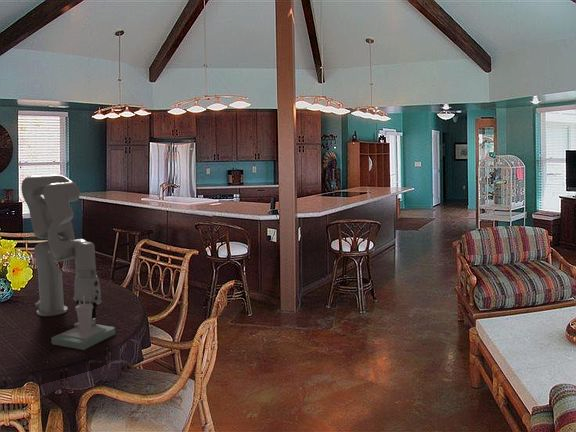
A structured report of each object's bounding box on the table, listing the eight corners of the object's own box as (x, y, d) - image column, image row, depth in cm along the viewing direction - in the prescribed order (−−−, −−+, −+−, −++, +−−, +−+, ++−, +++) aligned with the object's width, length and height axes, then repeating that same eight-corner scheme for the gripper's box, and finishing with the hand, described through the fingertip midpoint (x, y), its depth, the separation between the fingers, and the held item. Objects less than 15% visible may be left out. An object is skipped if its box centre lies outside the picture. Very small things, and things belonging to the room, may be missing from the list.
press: (38, 341, 200) (37, 333, 200) (79, 323, 219) (78, 316, 219) (83, 349, 192) (83, 342, 192) (121, 330, 212) (121, 323, 211)
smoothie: (76, 334, 199) (74, 298, 197) (76, 328, 205) (74, 293, 203) (95, 332, 202) (93, 296, 200) (93, 326, 208) (92, 291, 206)
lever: (81, 324, 214) (79, 295, 213) (88, 321, 218) (86, 292, 216) (89, 326, 213) (87, 296, 211) (96, 323, 217) (94, 293, 215)
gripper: (109, 272, 213) (111, 317, 216) (76, 269, 219) (78, 312, 222) (95, 277, 206) (98, 322, 209) (62, 273, 212) (65, 317, 215)
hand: (88, 316), depth 215 cm, fingers closed on lever, 3 cm apart
